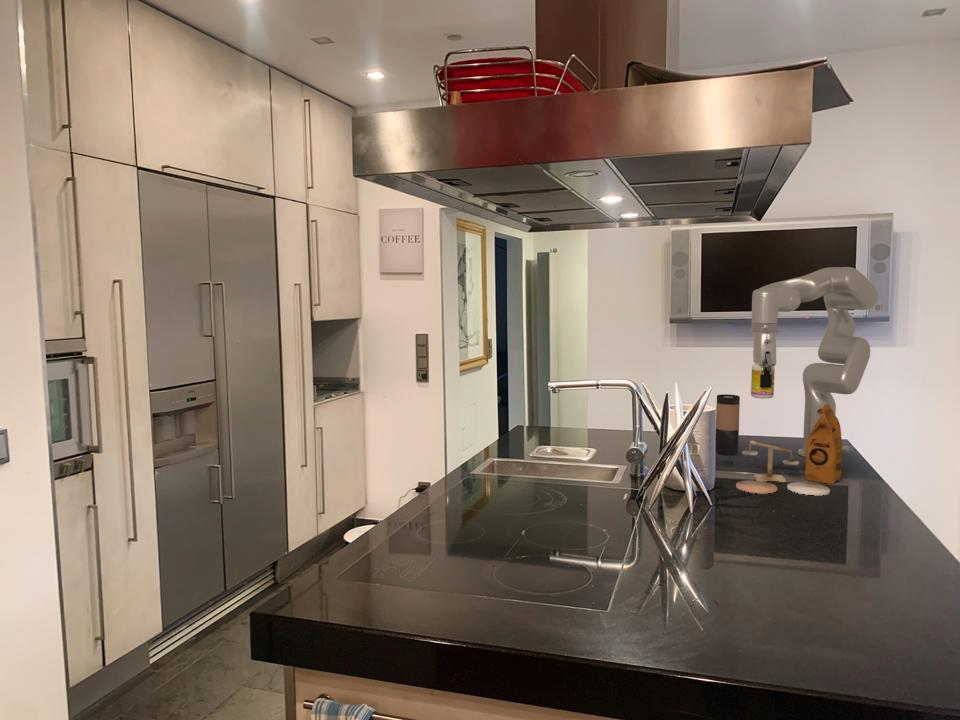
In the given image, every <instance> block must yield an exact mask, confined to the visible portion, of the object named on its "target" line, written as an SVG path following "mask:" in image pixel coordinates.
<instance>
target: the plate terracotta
mask: <svg viewBox="0 0 960 720" xmlns="http://www.w3.org/2000/svg"><path fill="white" fill-rule="evenodd" d="M735 487H736V489H737V490H739V491H741V490H742V491H741V492H744V491H745V493H748V492H749V494H755V493H757V495H769V494H768V493H771V494H775V493H776V491H777V492H778V486H777V485H775V484H773V483H771V482H767V481H757V480H740V481H737V482H736V483H735ZM774 492H775V493H774Z"/></svg>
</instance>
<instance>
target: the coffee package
mask: <svg viewBox="0 0 960 720" xmlns="http://www.w3.org/2000/svg"><path fill="white" fill-rule="evenodd" d="M817 413H819V414H821V415H822V417H821V418H820V419H819V420H818V422H817V423H816V424H815V426H814V428H813V430H812V432H811V433H810V435H809V437H808V440H807V444H806V454H805V457H804V458H805V472H804V477H805V479H806V480H807V481H808V480H809V481H808V482H814V481H816V482H815V483H819V482H822V484H825V483H827V484H828V485H834V484H835V483H836V481H840V480H841V479H842V471H843V470H842V469H843V467H842V465H843V464H842V463H843V451H842V445H843V440H842V430H841V423H840V421H839V419H838V417H837V416H836V414H834V412H833V410H832V409H831V407H830V405H829V404H826V405H824V407H823V408H820V409H819V410H818V411H817Z"/></svg>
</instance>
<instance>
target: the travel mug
mask: <svg viewBox="0 0 960 720" xmlns="http://www.w3.org/2000/svg"><path fill="white" fill-rule="evenodd" d="M740 401H741V399H740V395H738V394H737V395H736V394H717V395H716V410H715V412H716V413H715V453H716V452H717V453H716V454H718V455H722V456H736V455H738V449H739V448H738V447H739V437H740V436H739V434H740V406H741V405H740V403H741V402H740Z"/></svg>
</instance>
